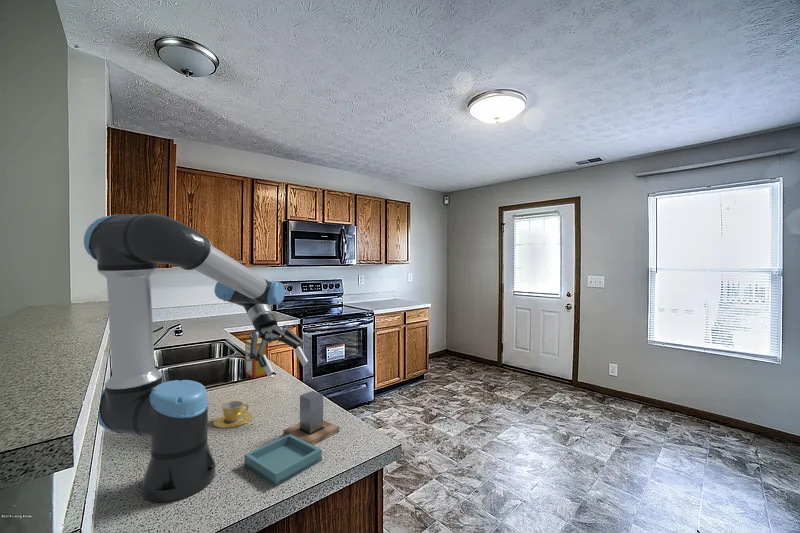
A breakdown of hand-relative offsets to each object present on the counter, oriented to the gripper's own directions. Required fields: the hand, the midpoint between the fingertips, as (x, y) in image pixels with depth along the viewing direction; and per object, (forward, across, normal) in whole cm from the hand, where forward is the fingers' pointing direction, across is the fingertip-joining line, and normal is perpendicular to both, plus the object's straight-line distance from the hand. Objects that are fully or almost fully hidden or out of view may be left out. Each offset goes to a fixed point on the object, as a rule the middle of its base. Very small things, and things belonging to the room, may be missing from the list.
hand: (289, 368), depth 119 cm
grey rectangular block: (+21, +1, -4) cm, 22 cm away
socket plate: (+21, +1, -3) cm, 22 cm away
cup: (+2, +11, -24) cm, 26 cm away
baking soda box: (-23, -20, -49) cm, 58 cm away
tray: (+26, +16, +2) cm, 31 cm away
